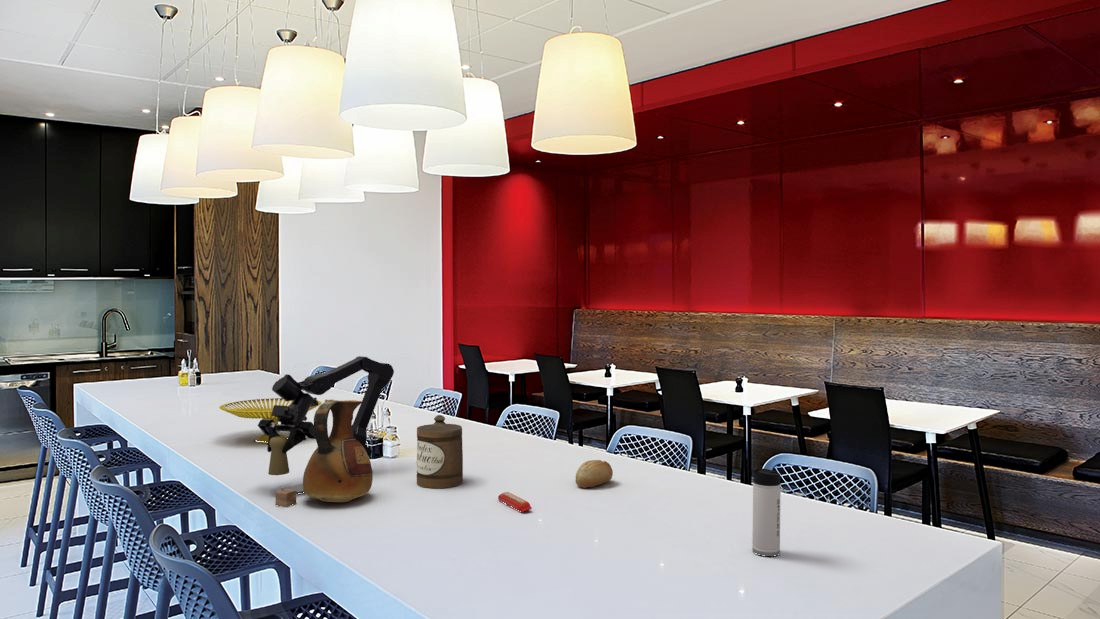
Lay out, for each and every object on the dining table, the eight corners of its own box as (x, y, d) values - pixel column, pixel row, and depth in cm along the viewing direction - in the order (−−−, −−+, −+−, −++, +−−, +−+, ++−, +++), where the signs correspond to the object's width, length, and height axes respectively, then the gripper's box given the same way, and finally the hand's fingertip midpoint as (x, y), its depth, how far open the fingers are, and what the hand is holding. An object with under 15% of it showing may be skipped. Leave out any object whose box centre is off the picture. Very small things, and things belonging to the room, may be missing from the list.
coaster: (304, 485, 233) (304, 483, 233) (318, 490, 227) (318, 487, 227) (281, 490, 227) (281, 487, 227) (293, 495, 221) (293, 492, 221)
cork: (282, 475, 219) (281, 439, 218) (264, 474, 220) (263, 438, 220) (293, 470, 225) (292, 435, 224) (275, 469, 226) (275, 434, 226)
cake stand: (302, 450, 286) (302, 412, 285) (200, 449, 286) (200, 411, 286) (334, 431, 326) (334, 398, 326) (244, 430, 326) (244, 397, 326)
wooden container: (407, 483, 237) (407, 415, 236) (443, 475, 248) (443, 410, 247) (436, 491, 227) (436, 420, 226) (472, 482, 238) (472, 415, 237)
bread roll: (620, 483, 238) (621, 458, 238) (592, 492, 227) (592, 466, 227) (597, 478, 245) (597, 454, 245) (568, 486, 234) (568, 461, 233)
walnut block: (285, 502, 214) (285, 488, 214) (296, 504, 213) (296, 490, 212) (275, 506, 210) (275, 492, 210) (286, 507, 209) (286, 493, 209)
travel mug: (747, 548, 177) (748, 466, 176) (773, 547, 177) (774, 465, 177) (756, 557, 170) (757, 472, 170) (784, 557, 171) (785, 471, 171)
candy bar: (495, 501, 217) (495, 491, 217) (506, 499, 219) (506, 489, 219) (521, 515, 203) (521, 504, 203) (533, 513, 205) (533, 502, 205)
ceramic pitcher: (385, 493, 224) (385, 396, 223) (346, 512, 205) (346, 405, 204) (330, 488, 230) (330, 393, 229) (288, 505, 211) (288, 401, 210)
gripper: (261, 393, 228) (236, 435, 218) (312, 395, 223) (289, 438, 212) (278, 414, 236) (255, 455, 226) (327, 417, 230) (306, 459, 220)
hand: (275, 452), depth 221 cm, fingers closed on cork, 5 cm apart
